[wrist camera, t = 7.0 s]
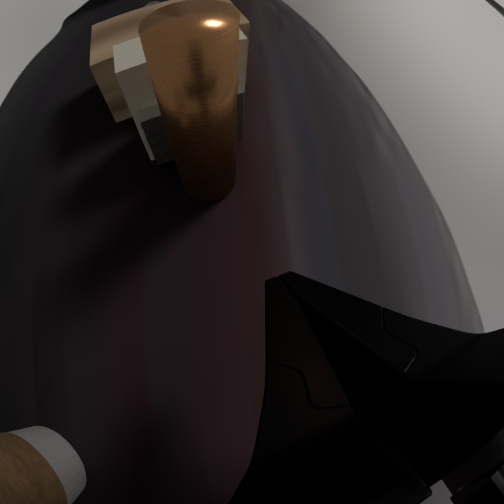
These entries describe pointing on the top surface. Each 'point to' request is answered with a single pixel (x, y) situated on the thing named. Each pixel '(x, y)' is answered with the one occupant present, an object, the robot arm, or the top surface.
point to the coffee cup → (39, 468)
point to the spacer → (139, 82)
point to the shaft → (194, 92)
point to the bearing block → (120, 32)
